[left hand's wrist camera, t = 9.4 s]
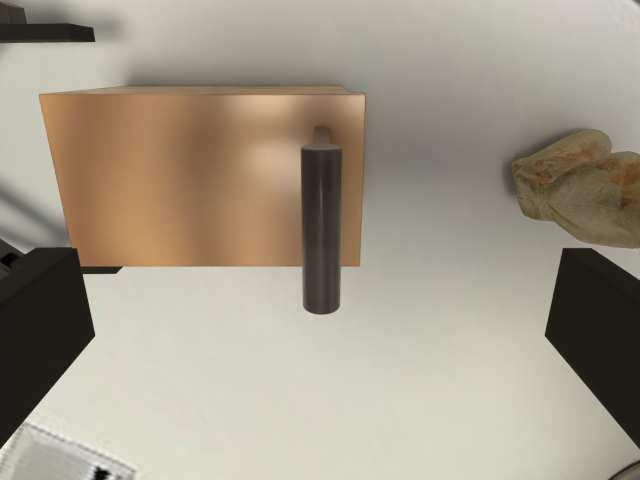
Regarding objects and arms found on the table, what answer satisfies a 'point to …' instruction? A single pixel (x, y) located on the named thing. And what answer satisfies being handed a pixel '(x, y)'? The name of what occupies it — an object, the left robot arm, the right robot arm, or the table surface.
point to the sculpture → (583, 189)
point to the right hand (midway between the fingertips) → (105, 156)
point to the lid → (213, 180)
